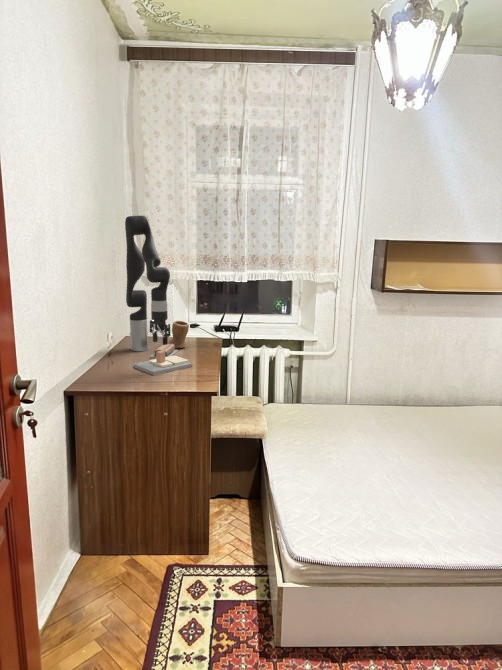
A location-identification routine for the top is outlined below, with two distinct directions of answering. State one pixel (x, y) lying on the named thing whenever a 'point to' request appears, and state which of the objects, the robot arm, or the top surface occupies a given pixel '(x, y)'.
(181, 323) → the brown hollow piece
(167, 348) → the packaged product
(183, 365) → the board
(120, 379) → the top surface
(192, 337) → the top surface
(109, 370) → the top surface
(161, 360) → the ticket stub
